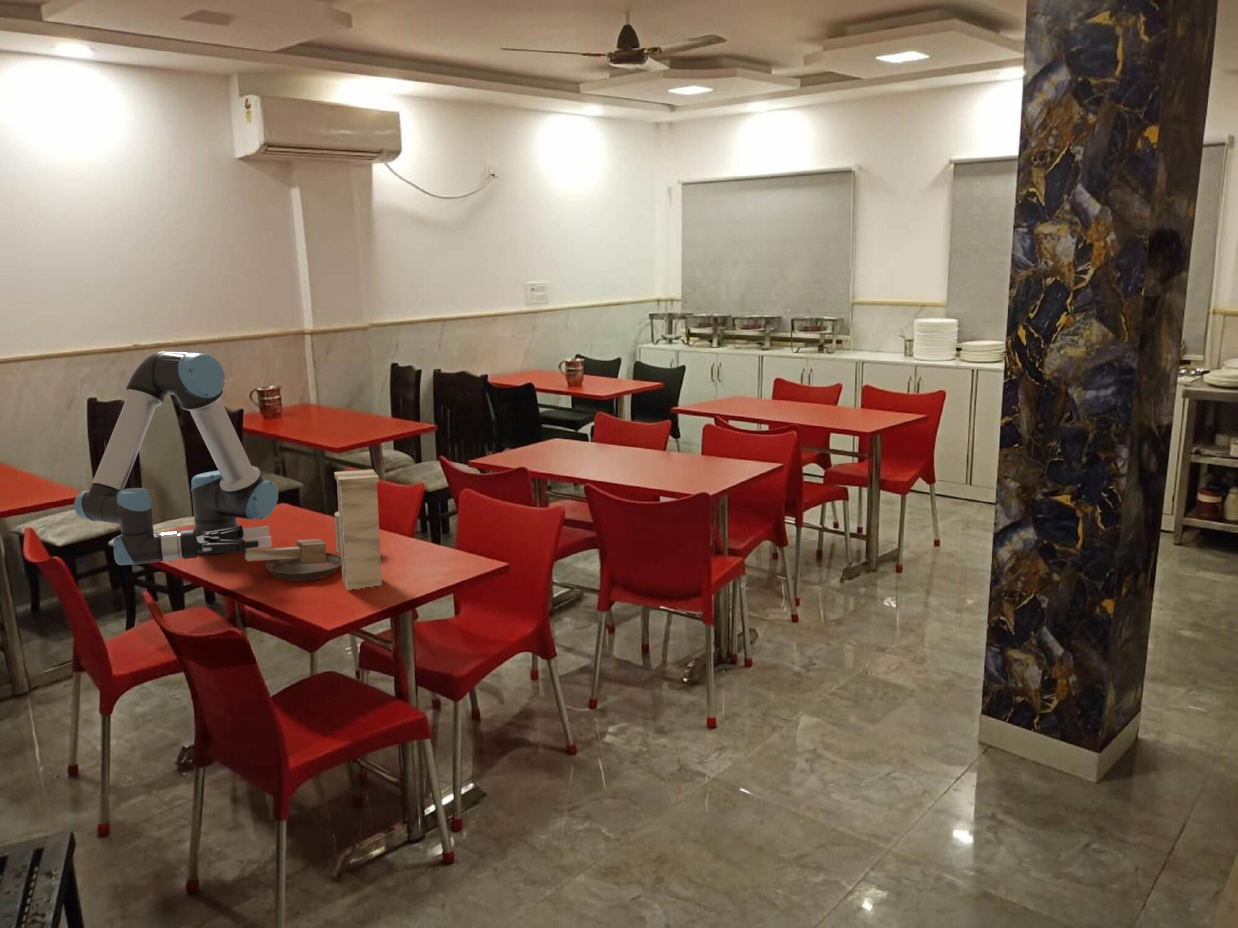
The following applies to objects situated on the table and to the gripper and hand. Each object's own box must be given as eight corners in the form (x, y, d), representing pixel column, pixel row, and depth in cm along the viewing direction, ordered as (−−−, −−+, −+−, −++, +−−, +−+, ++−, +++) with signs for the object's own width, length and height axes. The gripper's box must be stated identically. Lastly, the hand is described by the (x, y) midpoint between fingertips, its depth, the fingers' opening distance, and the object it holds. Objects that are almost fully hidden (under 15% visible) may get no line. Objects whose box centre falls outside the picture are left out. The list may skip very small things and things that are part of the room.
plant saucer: (316, 557, 289) (315, 546, 288) (359, 571, 276) (358, 559, 275) (251, 574, 273) (250, 562, 272) (294, 590, 260) (293, 578, 260)
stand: (340, 579, 267) (334, 472, 261) (377, 575, 271) (372, 469, 265) (345, 591, 258) (339, 479, 252) (384, 586, 262) (378, 476, 256)
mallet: (243, 562, 265) (244, 542, 264) (318, 557, 277) (319, 538, 276) (248, 568, 261) (249, 547, 260) (325, 562, 272) (326, 543, 272)
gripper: (182, 547, 268) (268, 538, 277) (181, 571, 248) (274, 561, 256) (179, 520, 267) (266, 512, 275) (178, 542, 246) (272, 533, 255)
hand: (270, 536), depth 266 cm, fingers open, 10 cm apart
